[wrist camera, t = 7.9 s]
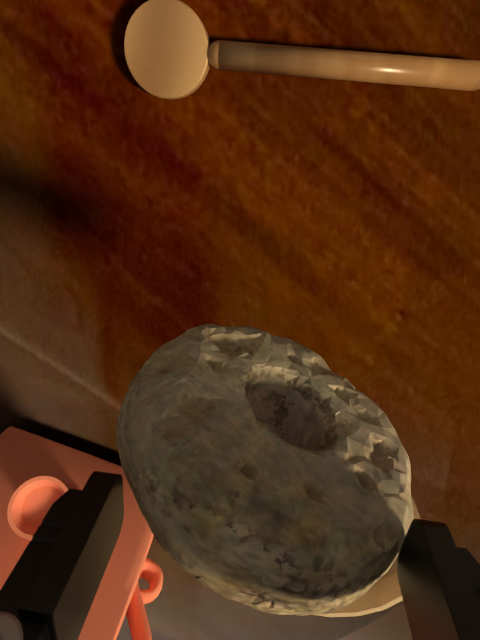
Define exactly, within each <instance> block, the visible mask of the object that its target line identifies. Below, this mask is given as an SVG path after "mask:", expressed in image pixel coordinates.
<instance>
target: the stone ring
mask: <svg viewBox="0 0 480 640" xmlns="http://www.w3.org/2000/svg"><path fill="white" fill-rule="evenodd" d="M116 439H117V447H118V452H119V457H120V461H121V464H122V468H123V471H124V474H125V477H126V479H127V481H128V483H129V486H130V488H131V490H132V492H133V494H134V496H135V499H136V501H137V503H138V506H139V508H140V511H141V513H142V514H143V516H144V517H145V519H146V520H147V523H148V525H149V527H150V530H151V532H152V533H153V535H154V536H155V538H156V539H157V540H158V542H159V543H160V545H161V546H162V548H163V549H164V551H165V552H166V553H167V554H169V555H170V556H172V557H173V558H174V560H175V561H176V562H177V563H178V564H179V565H180V566H181V567H182V568H183V569H185V570H186V571H188V572H189V573H191V574H192V575H194V576H195V577H196V578H197V579H198V580H199V581H200V582H201V583H202V584H203V585H204V586H206V587H207V588H209V589H211V590H213V591H215V592H217V593H218V594H220V595H222V596H223V597H225V598H227V599H230V600H233V601H236V602H238V603H241V604H243V605H246V606H249V607H252V608H255V609H258V610H260V611H263V612H265V613H271V614H280V615H285V614H293V615H300V616H305V615H311V614H329V613H332V612H334V611H337V610H340V609H342V608H344V607H345V606H347V605H349V604H350V603H352V602H353V601H354V600H356V599H357V600H358V599H359V598H361V597H362V596H363V595H365V594H366V593H367V592H368V590H369V589H370V588H371V587H372V586H373V585H374V584H375V583H376V582H377V581H378V580H379V579H381V577H382V576H383V575H385V574H386V573H387V572H388V571H389V569H390V567H391V566H392V564H393V563H394V561H395V559H396V558H397V556H398V554H399V551H400V549H401V546H402V544H403V542H404V539H405V537H406V534H407V532H408V529H409V527H410V524H411V522H412V520H413V514H414V510H413V504H412V499H411V489H410V484H411V467H410V461H409V458H408V455H407V453H406V451H405V449H404V447H403V446H402V444H401V442H400V440H399V437H398V435H397V433H396V431H395V429H394V427H393V426H392V424H391V423H390V421H389V419H388V418H387V416H386V415H385V413H384V412H383V411H382V410H381V409H380V408H379V407H378V406H377V405H376V404H375V403H374V402H373V401H372V400H370V399H369V398H368V397H367V396H366V395H365V394H364V393H363V392H361V391H358V390H355V387H354V386H353V385H352V384H351V383H350V382H349V381H348V380H347V379H345V378H343V377H341V376H338V375H336V374H334V373H333V372H332V371H331V370H330V368H329V367H328V366H327V364H326V363H325V361H324V360H323V358H322V357H320V356H319V355H318V354H317V353H315V352H314V351H312V350H310V349H308V348H306V347H304V346H302V345H300V344H298V343H296V342H295V341H293V340H291V339H288V338H282V337H277V336H272V335H270V334H269V333H268V332H265V331H262V330H260V329H256V328H252V327H240V328H238V327H224V326H219V325H214V324H205V325H201V326H198V327H194V328H191V329H189V330H187V331H186V332H185V333H183V334H182V335H180V336H179V337H177V338H175V339H173V340H171V341H169V342H167V343H165V344H163V345H162V346H161V347H159V348H158V349H157V350H155V352H154V353H153V354H152V355H151V356H150V358H149V359H148V360H147V361H146V363H145V364H144V365H143V367H142V368H141V370H140V371H138V373H137V374H136V376H135V377H134V379H133V381H132V382H131V384H130V386H129V389H128V391H127V394H126V396H125V398H124V401H123V404H122V407H121V410H120V413H119V416H118V419H117V424H116Z"/></svg>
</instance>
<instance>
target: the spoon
mask: <svg viewBox="0 0 480 640" xmlns="http://www.w3.org/2000/svg"><path fill="white" fill-rule="evenodd" d="M124 53H125V58H126V62H127V65H128V68H129V70H130V72H131V74H132V76H133V78H134V79H135V80H136V82H137V83H138V84H139V85H140V86H141V87H142V88H143V89H144V90H145V91H147V92H148V93H150V94H152V95H154V96H156V97H159V98H164V99H169V100H175V99H181V98H184V97H187V96H189V95H190V94H192V93H193V92H195V91H196V90H197V89H198V88H199V87H200V85H201V84H202V83H203V81H204V80H205V78H206V75H207V73H208V70H209V66H210V64H211V66H212V67H214V68H215V69H218V70H228V71H240V72H252V73H264V74H276V75H288V76H300V77H312V78H324V79H336V80H348V81H360V82H372V83H383V84H395V85H407V86H419V87H431V88H443V89H455V90H467V91H474V90H478V89H480V61H474V60H462V59H449V58H437V57H424V56H412V55H399V54H387V53H375V52H362V51H350V50H337V49H325V48H312V47H300V46H288V45H275V44H263V43H250V42H238V41H225V40H217V41H214V42H213V43H212V44H211V45H210V40H209V36H208V33H207V31H206V29H205V26H204V24H203V23H202V21H201V20H200V18H199V17H198V16H197V15H196V13H195V12H194V11H193V10H192V9H191V8H190V7H189V6H187V5H186V4H185V3H183V2H181V1H179V0H148V1H147V2H145V3H143V4H142V5H141V6H139V7H138V9H137V10H136V11H135V12H134V13H133V15H132V16H131V18H130V20H129V22H128V25H127V27H126V31H125V37H124Z"/></svg>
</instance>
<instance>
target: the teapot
mask: <svg viewBox="0 0 480 640" xmlns="http://www.w3.org/2000/svg"><path fill="white" fill-rule="evenodd" d="M94 471H100V472H107V473H114V474H121V475H122V478H123V498H124V518H123V524H122V528H121V532H120V535H119V537H118V540H117V542H116V545H115V547H114V550H113V552H112V555H111V558H110V560H109V563H108V565H107V568H106V570H105V573H104V575H103V578H102V580H101V583H100V585H99V588H98V590H97V593H96V595H95V598H94V600H93V603H92V605H91V608H90V610H89V613H88V615H87V618H86V620H85V623H84V625H83V628H82V630H81V633H80V635H79V638H78V640H116V638H117V636H118V633H119V630H120V628H121V625H122V622H123V620H124V617H125V615H127V619H128V623H129V627H130V631H131V636H132V640H152V636H151V631H150V626H149V622H148V618H147V615H146V611H145V607H144V604H147V603H150V602H152V601H153V600H154V599H155V598H156V597H157V596H158V595H159V593H160V591H161V589H162V584H163V574H162V570H161V568H160V567H159V565H158V564H157V563H155V562H154V561H152V560H150V559H148V558H146V557H147V554H148V551H149V548H150V545H151V542H152V539H153V536H154V535H153V533H152V532H151V530H150V527H149V525H148V523H147V520H146V519H145V517H144V516H143V514H142V513H141V511H140V508H139V506H138V503H137V501H136V499H135V496H134V494H133V492H132V490H131V488H130V486H129V483H128V481H127V479H126V477H125V474H124V471H123V468H122V466H119V465H116V464H114V463H111V462H108V461H106V460H103V459H101V458H98V457H95V456H93V455H90V454H87V453H85V452H82V451H79V450H76V449H74V448H71V447H68V446H65V445H63V444H60V443H57V442H54V441H52V440H49V439H46V438H43V437H41V436H38V435H35V434H32V433H29V432H27V431H24V430H21V429H18V428H14V427H8V428H7V429H6V430H5V431H4V432H2V433H1V434H0V590H1V588H2V587H3V585H4V583H5V582H6V580H7V578H8V577H9V575H10V573H11V572H12V570H13V568H14V567H15V565H16V564H17V562H18V560H19V559H20V557H21V555H22V554H23V552H24V550H25V549H26V547H27V545H28V544H29V542H30V541H32V537H33V535H34V534H35V532H36V531H37V529H38V527H39V526H41V524H42V521H43V519H44V517H45V516H46V514H47V512H48V511H49V509H50V507H51V506H52V504H53V503H54V502H55V501H56V500H57V499H59V498H60V497H61V496H62V495H63V494H64V493H65V492H67V491H68V490H69V489H77V490H83V488H84V486H85V484H86V482H87V481H88V479H89V477H90V475H91V474H92V473H93V472H94ZM139 578H143V579H145V580H146V581H147V582H148V583H149V585H150V588H149V589H148V590H143V589H139V584H138V580H139Z"/></svg>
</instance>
